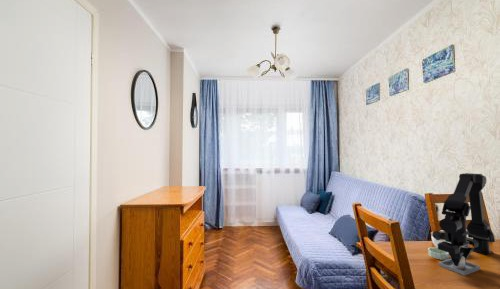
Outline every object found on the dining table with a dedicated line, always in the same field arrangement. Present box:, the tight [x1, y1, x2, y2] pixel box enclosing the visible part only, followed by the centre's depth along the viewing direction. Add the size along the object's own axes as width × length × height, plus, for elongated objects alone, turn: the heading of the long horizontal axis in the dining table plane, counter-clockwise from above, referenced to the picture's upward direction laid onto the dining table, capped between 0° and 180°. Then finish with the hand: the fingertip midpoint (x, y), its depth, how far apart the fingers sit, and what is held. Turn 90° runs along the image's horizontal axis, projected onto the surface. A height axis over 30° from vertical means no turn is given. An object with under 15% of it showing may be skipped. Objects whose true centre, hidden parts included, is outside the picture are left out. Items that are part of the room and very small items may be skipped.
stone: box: [453, 256, 465, 269], centre depth 99 cm, size 4×4×4 cm
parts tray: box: [438, 258, 481, 277], centre depth 99 cm, size 12×9×2 cm
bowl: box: [427, 246, 450, 261], centre depth 109 cm, size 8×8×3 cm
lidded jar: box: [430, 230, 451, 248], centre depth 117 cm, size 11×11×9 cm
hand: (458, 264), depth 99 cm, fingers closed on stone, 4 cm apart
